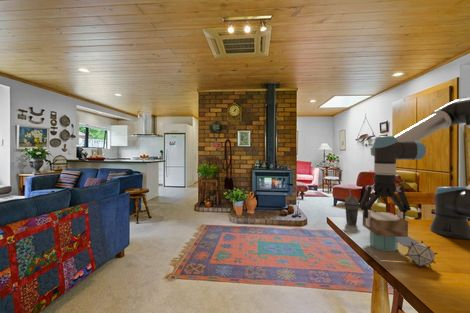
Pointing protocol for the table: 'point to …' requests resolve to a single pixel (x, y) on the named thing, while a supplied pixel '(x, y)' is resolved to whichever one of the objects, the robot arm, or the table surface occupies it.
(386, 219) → the brown wooden block
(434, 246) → the table surface
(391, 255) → the table surface
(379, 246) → the bowl
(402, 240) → the mat
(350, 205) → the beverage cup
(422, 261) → the game die
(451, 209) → the robot arm
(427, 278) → the table surface
